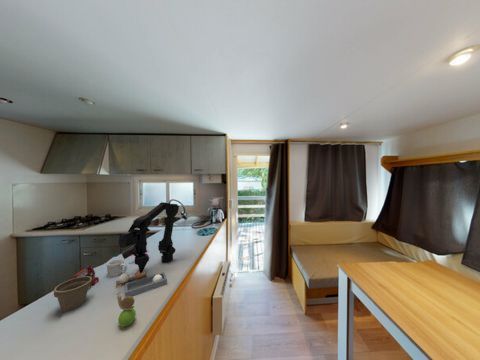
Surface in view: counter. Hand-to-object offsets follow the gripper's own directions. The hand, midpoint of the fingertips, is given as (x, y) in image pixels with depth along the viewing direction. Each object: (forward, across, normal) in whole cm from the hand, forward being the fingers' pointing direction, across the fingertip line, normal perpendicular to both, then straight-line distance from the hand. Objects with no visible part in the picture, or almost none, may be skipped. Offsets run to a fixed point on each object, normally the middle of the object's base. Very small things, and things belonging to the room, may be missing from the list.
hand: (140, 269), depth 89 cm
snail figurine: (+6, +30, -7) cm, 31 cm away
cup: (+6, -12, -10) cm, 17 cm away
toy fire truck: (+6, -7, -23) cm, 25 cm away
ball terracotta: (+5, 0, 0) cm, 5 cm away
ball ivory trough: (+5, +11, +7) cm, 14 cm away
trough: (+6, +11, +2) cm, 13 cm away
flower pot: (+6, +6, -25) cm, 26 cm away
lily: (+6, -26, +2) cm, 27 cm away
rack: (+6, 0, -4) cm, 7 cm away
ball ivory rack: (+5, 0, -7) cm, 8 cm away
